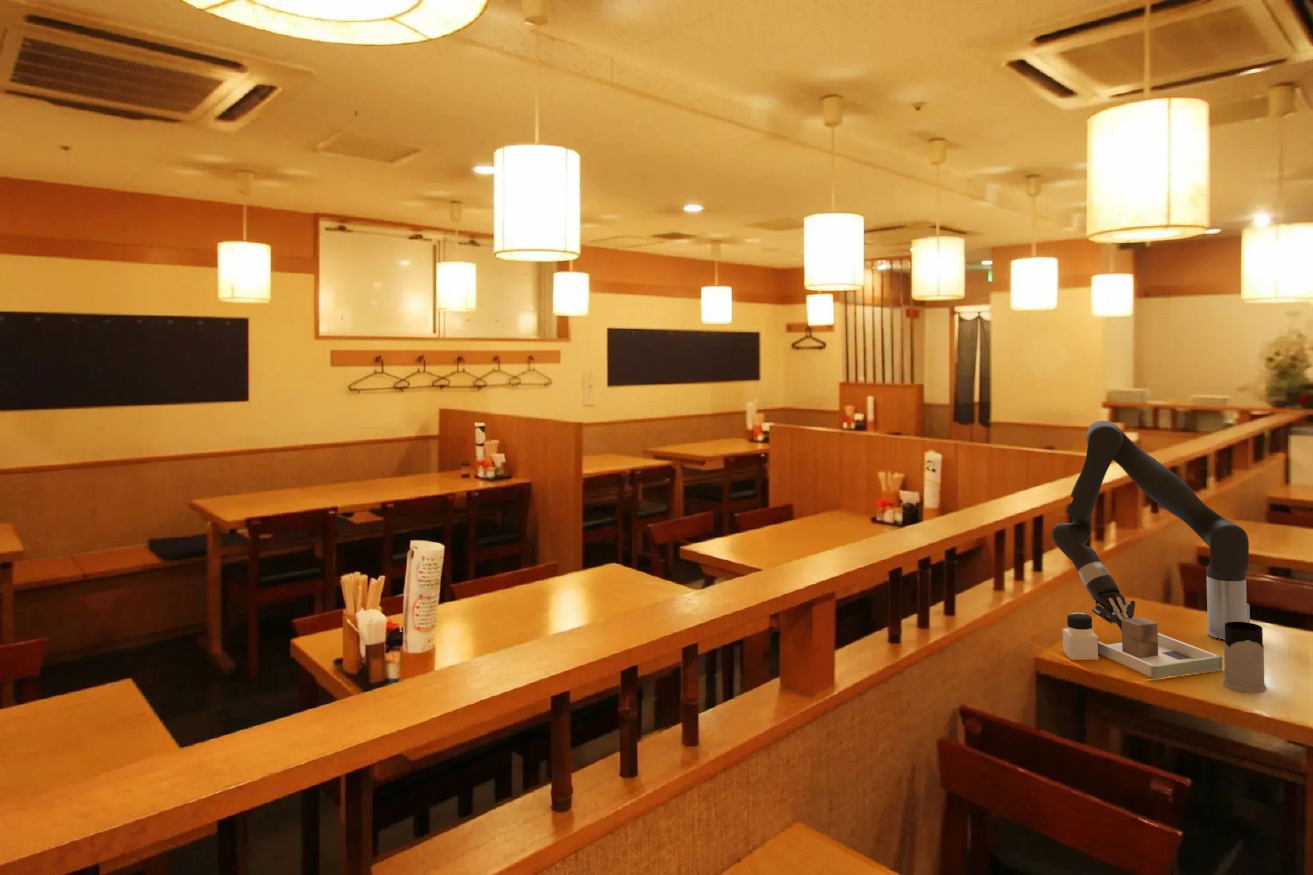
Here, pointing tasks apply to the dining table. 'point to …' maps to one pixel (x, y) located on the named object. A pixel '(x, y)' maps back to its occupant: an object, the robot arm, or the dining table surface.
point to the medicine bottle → (1080, 638)
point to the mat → (1176, 655)
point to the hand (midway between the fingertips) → (1130, 634)
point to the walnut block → (1140, 637)
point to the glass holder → (1244, 657)
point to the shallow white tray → (1165, 659)
